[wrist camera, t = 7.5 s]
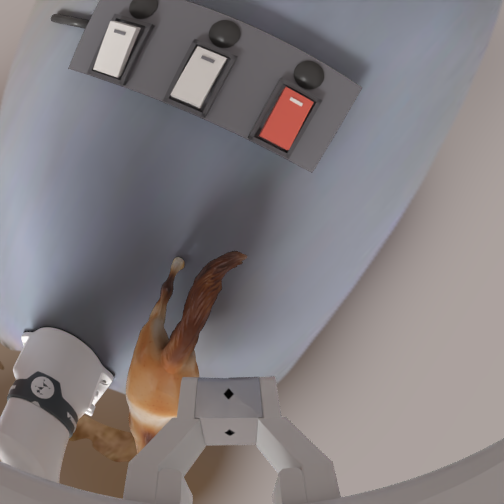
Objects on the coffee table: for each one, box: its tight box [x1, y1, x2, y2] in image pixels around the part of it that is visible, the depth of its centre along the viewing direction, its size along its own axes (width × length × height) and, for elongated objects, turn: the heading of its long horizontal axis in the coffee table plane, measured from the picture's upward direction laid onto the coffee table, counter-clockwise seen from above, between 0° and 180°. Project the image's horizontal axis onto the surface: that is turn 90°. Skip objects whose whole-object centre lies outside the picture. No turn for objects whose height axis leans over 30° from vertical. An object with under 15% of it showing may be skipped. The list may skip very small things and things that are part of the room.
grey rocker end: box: [93, 21, 140, 77], centre depth 22 cm, size 5×3×2 cm, turn 152°
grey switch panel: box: [51, 0, 362, 173], centre depth 24 cm, size 10×34×4 cm, turn 63°
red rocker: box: [259, 87, 314, 150], centre depth 26 cm, size 5×3×2 cm, turn 153°
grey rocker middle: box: [170, 47, 227, 108], centre depth 24 cm, size 5×3×2 cm, turn 153°
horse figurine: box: [126, 251, 247, 454], centre depth 33 cm, size 31×8×21 cm, turn 157°
